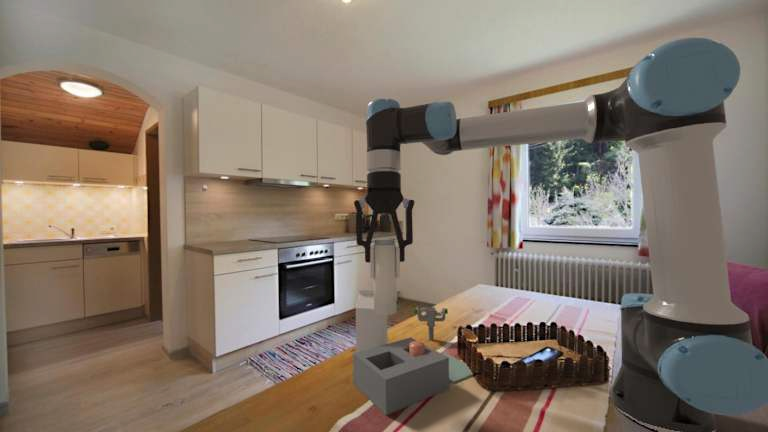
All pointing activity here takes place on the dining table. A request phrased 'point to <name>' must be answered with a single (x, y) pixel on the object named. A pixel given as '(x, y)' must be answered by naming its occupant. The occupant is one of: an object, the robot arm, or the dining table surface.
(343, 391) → the dining table surface
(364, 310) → the milk carton
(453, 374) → the mat
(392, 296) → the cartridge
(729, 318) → the robot arm
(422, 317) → the mechanical component
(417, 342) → the pink egg shape
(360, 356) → the housing
